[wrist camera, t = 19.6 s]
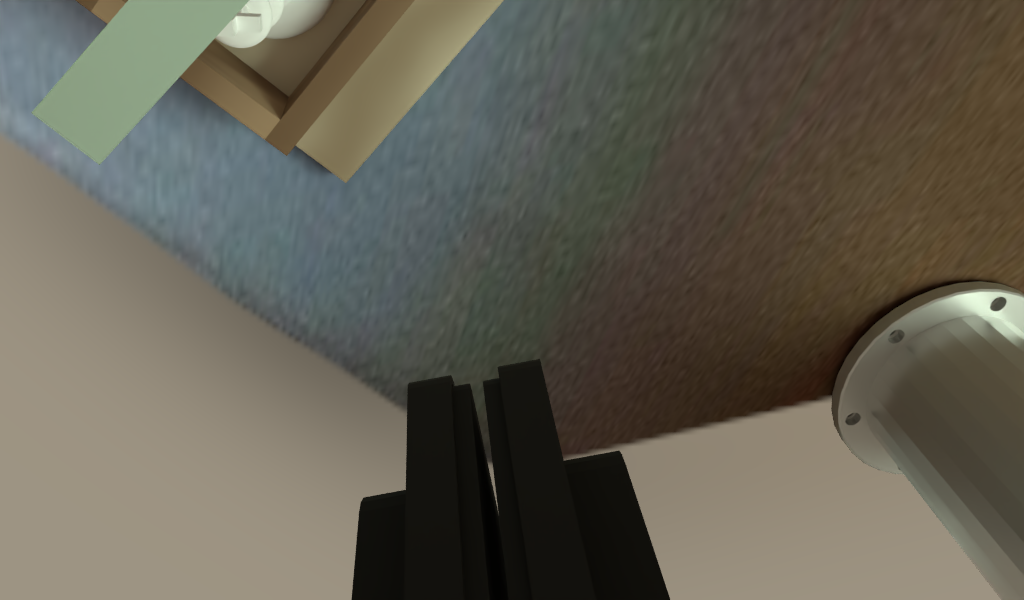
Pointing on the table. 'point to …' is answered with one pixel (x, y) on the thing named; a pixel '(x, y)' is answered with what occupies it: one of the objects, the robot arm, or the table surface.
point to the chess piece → (272, 21)
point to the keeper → (130, 69)
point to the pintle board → (334, 73)
